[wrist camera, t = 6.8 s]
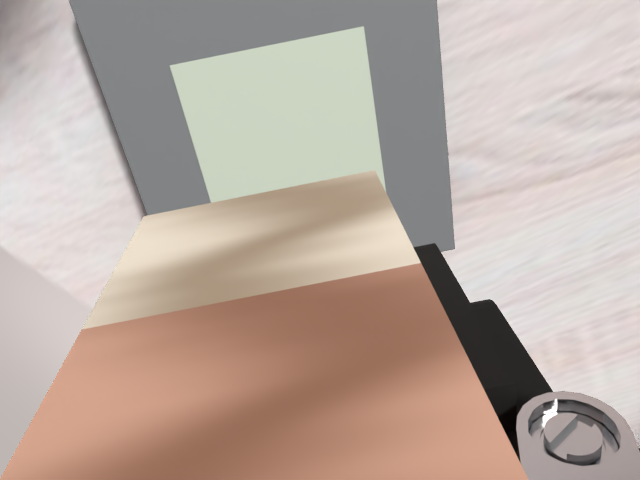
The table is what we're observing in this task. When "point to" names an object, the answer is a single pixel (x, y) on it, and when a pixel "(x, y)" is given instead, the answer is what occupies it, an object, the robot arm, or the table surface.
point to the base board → (276, 99)
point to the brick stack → (269, 354)
